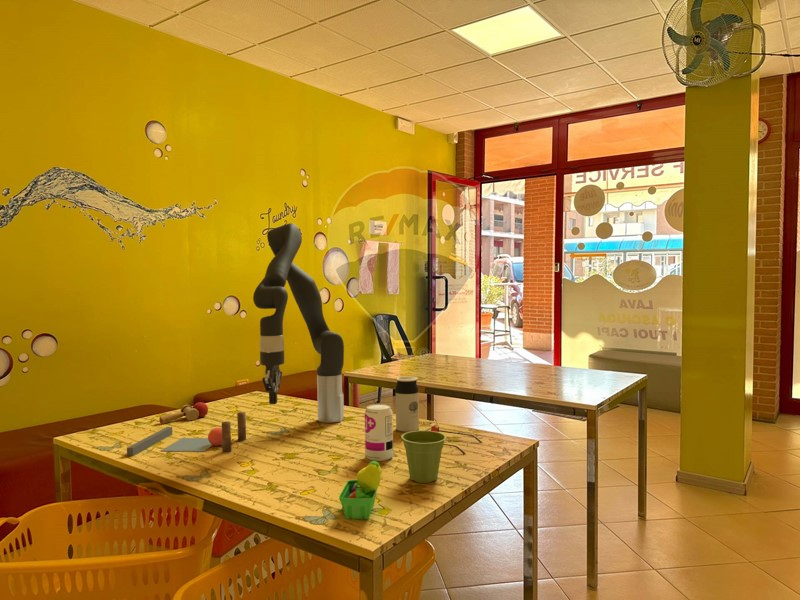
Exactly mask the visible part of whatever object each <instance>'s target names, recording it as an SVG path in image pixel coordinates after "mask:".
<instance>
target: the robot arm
mask: <svg viewBox="0 0 800 600" xmlns="http://www.w3.org/2000/svg"><path fill="white" fill-rule="evenodd" d="M302 237H303V236H302V232H301V230H300V229H299V227H298V226H297V225H296V224H295V223H292V222H291V223H287V224H283V225H281V226H280V225H279V226H278V227H275V228H272V229H270V230H268V231H267V233H266V238H267V243H268V246H269V247H270V249H271V251H272V253H273V256H274V257H272V259H271V261H269V263H268V266H267V268H266V271H265V274H264V277H263V279H262V280H261V282H259V284H258V285H256V288H255V290H254V292H253V296H252V301H253V304H254V306H255V307H256V308H258V309H261V310H262V309H263V310H267V309H268V310H269V309H271V310H273V309H275V311H274V313H273V314H271V315H267V316H264V317H261V318H260V321H259V334H260V337H259V364H260V365H261V366H264V367H265V370H264V377H262V383H263V386H264V389H265V392H267V393H268V403H269V405H276V404H277V403H278V391H279V389H280V387H281V381H282V377H283V371H281V369H280V366H282V365H284V364H285V341H284V325H283V323H284V316H285V313H286V312H285V311H286V308H287V304H288V300H289V294H288V291H287V289H286V288H285V287H286V284H287V283H288V286H289V288H290V291H291V293H292V296H293V299H294V301H295V303H296V305H297V307H298V310H299V311H300V313H301V316H302V318H303V320H304V322H305V324H306V327H307V331H308V334H309V336H310V339H311V342H312V345H313V348H314V350H315V351H316V352H317V353H318V354H319V355H320V364H319V365H318V366H317V367H316V384H317V385H316V387H317V388H316V390H317V391H316V392H317V421H318V422H320V423H338V422H342V421H343V420H344V418H345V415H344V413H345V411H344V410H345V408H344V406H345V405H344V392H343V375H342V374H343V373H342V372H343V368H344V362H345V361H344V360H345V358H344V357H345V345H344V344H345V343H344V340H343V338H342V336H341V335H340V334H339V333H337V332H333V331H331V330H330V328H329V326H328V324H327V322H326V319H325V317H324V312H323V300H322V296H321V293H320V291H319V288H318V285H317V283H316V281H315V279H313V277H312V276H311V275H310V274H308V273H307V272H306V271H305V270H303V269H301V268H300V267H299V266H298V265H297V264H295V263H294V259H295V258H296V255H297V254H298V252H299V250H300V248H301V246H302V242H303V238H302Z"/></svg>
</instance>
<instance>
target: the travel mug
mask: <svg viewBox="0 0 800 600" xmlns="http://www.w3.org/2000/svg"><path fill="white" fill-rule="evenodd" d="M395 380H396V386H395V429H396V430H397V431H398V432H401V433H402V432H403V433H407V432H411V431H419V429H420V422H419V421H420V418H419V417H420V412H419V411H420V409H419V408H420V407H419V403H420V401H419V386H418V384H417V382H418V377H416V376H410V375H409V376H398V377H396V379H395Z"/></svg>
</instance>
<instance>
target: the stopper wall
mask: <svg viewBox="0 0 800 600" xmlns="http://www.w3.org/2000/svg"><path fill="white" fill-rule="evenodd" d="M171 435H173V426H166V427H164V428H162V429H160V430H158V431H156V432H154V433H153V434H151V435H149V436H147V437H145V438H143V439H141V440H139V441H137V442H135V443H133V444H131V445H130V446H128V447H126V456H127V457H134V456H135V455H138V454H140V453H141V452H143V451H145V450H147V449H148V447H149V448H150V447H152V446H154V445H156V444H158V443H159V442H161V441H163V440H165V439H166V437H167V438H168V437H170V436H171ZM157 442H158V443H157ZM139 452H140V453H139Z"/></svg>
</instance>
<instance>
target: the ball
mask: <svg viewBox="0 0 800 600" xmlns="http://www.w3.org/2000/svg"><path fill="white" fill-rule="evenodd" d="M207 438H208V440H209V442H210V443H211V444H212V445H213V447H214V446H216V447H218V446H222V427H215V428H213V429H211V430H210V431H209V432H208V436H207Z"/></svg>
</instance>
